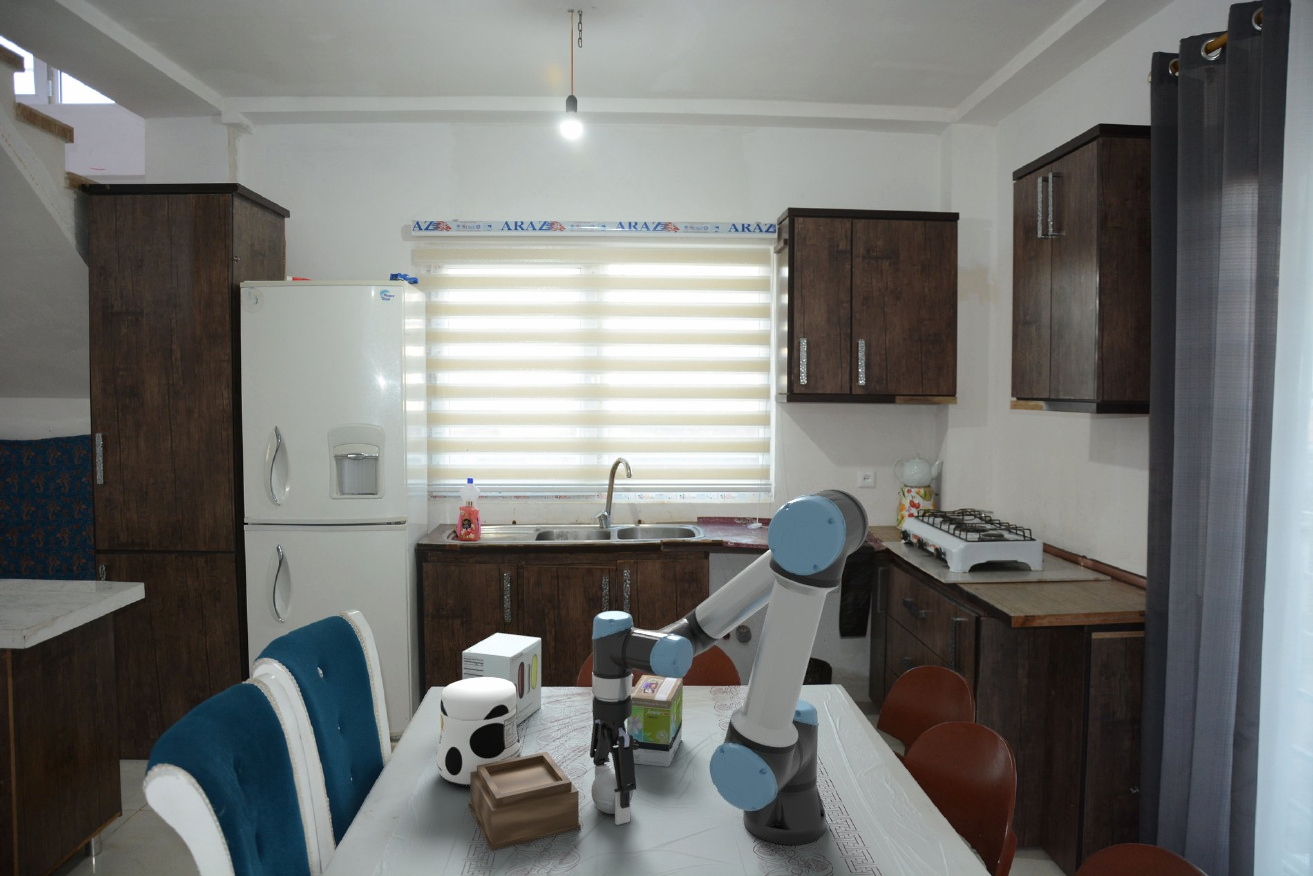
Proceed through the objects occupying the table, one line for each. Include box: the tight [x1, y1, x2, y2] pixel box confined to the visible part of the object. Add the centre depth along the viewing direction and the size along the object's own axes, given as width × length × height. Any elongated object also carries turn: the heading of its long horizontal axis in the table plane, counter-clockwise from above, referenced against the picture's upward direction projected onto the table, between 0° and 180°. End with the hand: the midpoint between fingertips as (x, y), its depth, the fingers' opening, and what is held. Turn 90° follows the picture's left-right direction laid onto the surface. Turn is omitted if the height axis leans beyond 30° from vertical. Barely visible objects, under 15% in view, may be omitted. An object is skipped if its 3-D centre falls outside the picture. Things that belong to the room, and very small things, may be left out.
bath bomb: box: [591, 767, 634, 815], centre depth 155 cm, size 8×8×8 cm
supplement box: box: [461, 632, 542, 726], centre depth 200 cm, size 17×13×18 cm
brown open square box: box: [468, 751, 582, 852], centre depth 152 cm, size 17×17×8 cm
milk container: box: [435, 677, 522, 787], centre depth 169 cm, size 17×17×18 cm
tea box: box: [626, 674, 684, 768], centre depth 181 cm, size 15×10×15 cm
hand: (611, 810), depth 155 cm, fingers open, 9 cm apart
